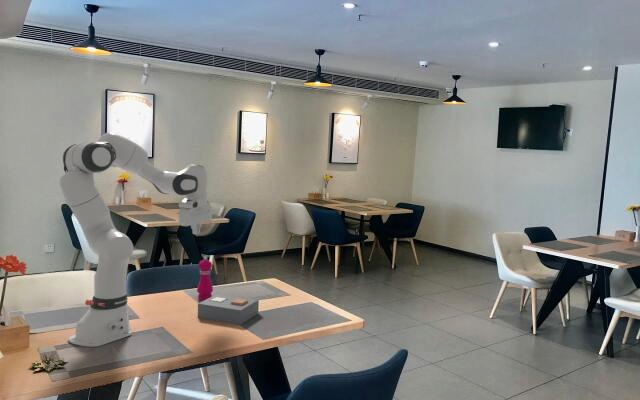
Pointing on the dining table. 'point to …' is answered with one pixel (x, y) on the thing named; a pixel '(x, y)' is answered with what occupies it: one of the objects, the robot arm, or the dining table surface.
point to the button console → (228, 309)
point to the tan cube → (239, 302)
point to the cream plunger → (218, 299)
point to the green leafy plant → (47, 361)
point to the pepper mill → (205, 280)
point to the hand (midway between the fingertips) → (196, 233)
